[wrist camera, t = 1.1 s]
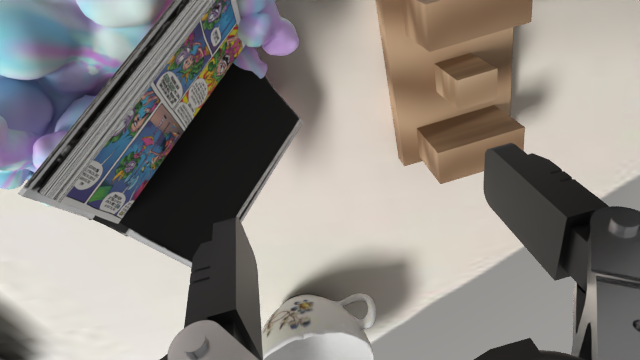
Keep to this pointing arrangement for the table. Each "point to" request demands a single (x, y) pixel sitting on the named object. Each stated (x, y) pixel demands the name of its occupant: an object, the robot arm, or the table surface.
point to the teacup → (318, 330)
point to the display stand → (451, 79)
